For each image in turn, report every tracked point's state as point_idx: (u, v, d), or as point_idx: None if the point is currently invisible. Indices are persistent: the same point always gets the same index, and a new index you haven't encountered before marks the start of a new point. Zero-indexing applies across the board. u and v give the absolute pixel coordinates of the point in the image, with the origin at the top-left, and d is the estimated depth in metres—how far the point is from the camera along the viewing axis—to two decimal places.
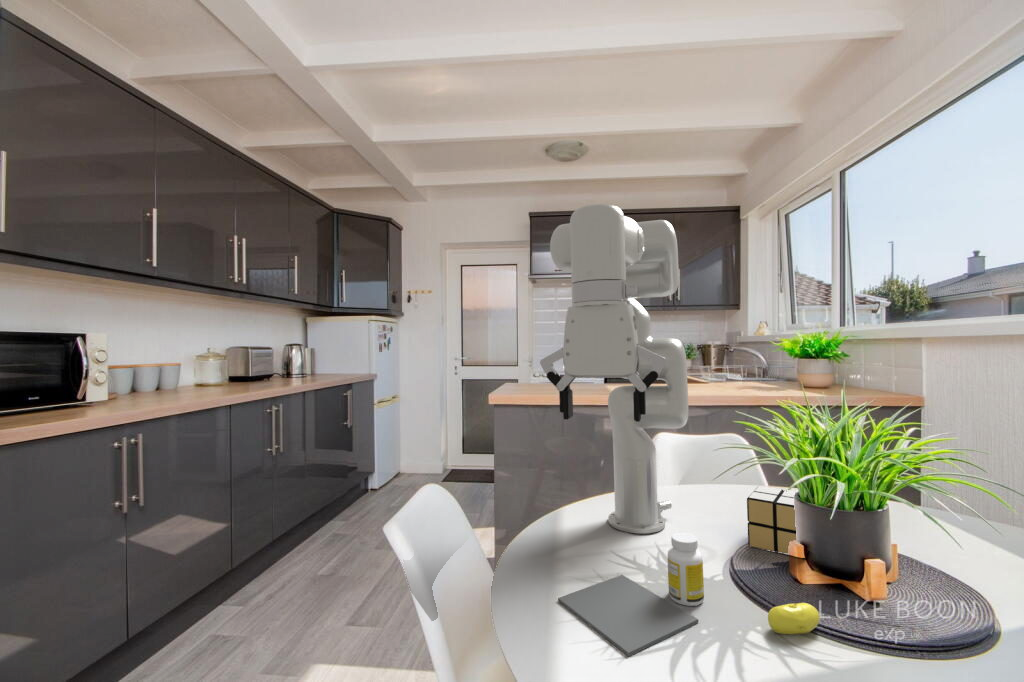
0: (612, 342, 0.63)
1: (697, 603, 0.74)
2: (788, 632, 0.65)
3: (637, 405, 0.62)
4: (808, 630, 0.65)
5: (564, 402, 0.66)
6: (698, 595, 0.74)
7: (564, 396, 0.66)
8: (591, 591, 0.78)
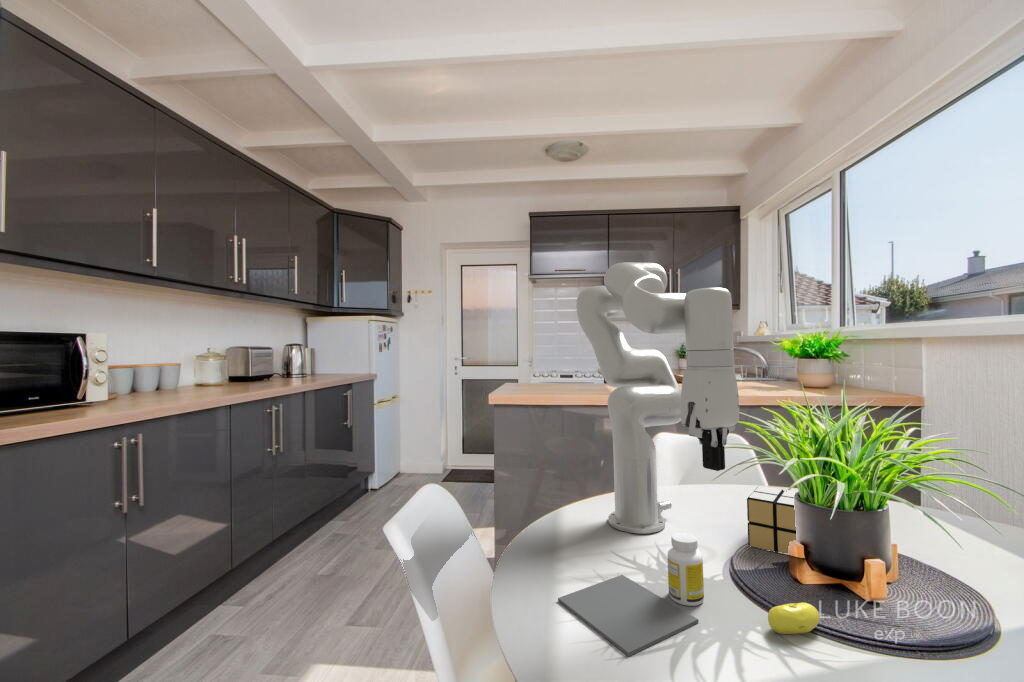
0: (731, 398, 0.79)
1: (697, 603, 0.74)
2: (788, 632, 0.65)
3: (724, 456, 0.79)
4: (808, 630, 0.65)
5: (719, 456, 0.78)
6: (698, 595, 0.74)
7: (719, 451, 0.78)
8: (591, 591, 0.78)
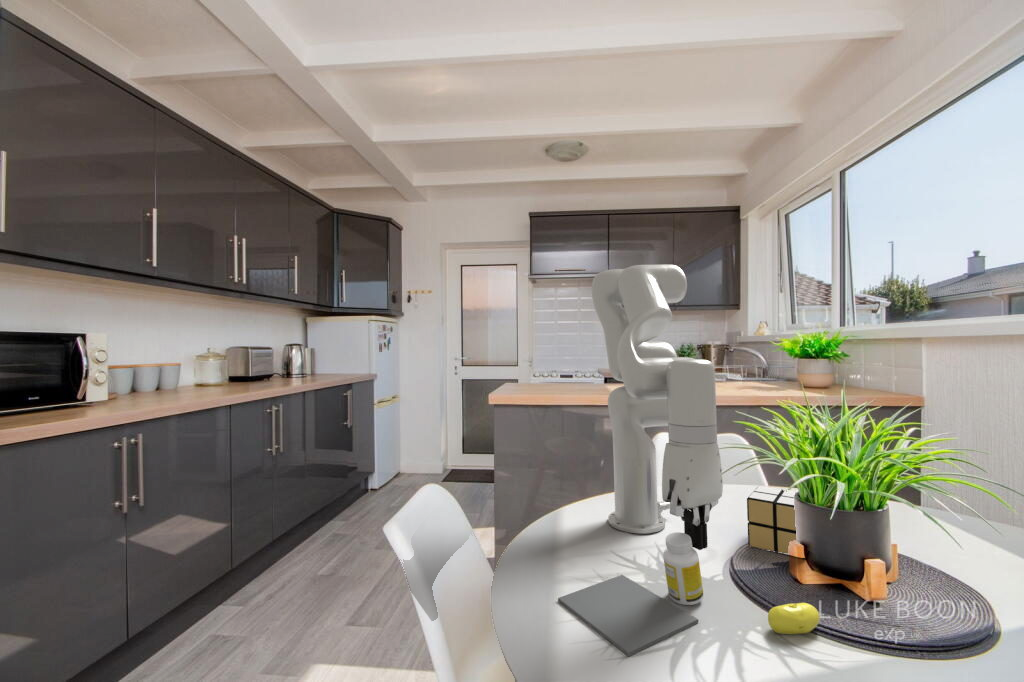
0: (714, 474, 0.76)
1: (697, 601, 0.74)
2: (788, 632, 0.65)
3: (706, 535, 0.76)
4: (808, 630, 0.65)
5: (701, 535, 0.75)
6: (697, 594, 0.73)
7: (701, 529, 0.75)
8: (591, 591, 0.78)
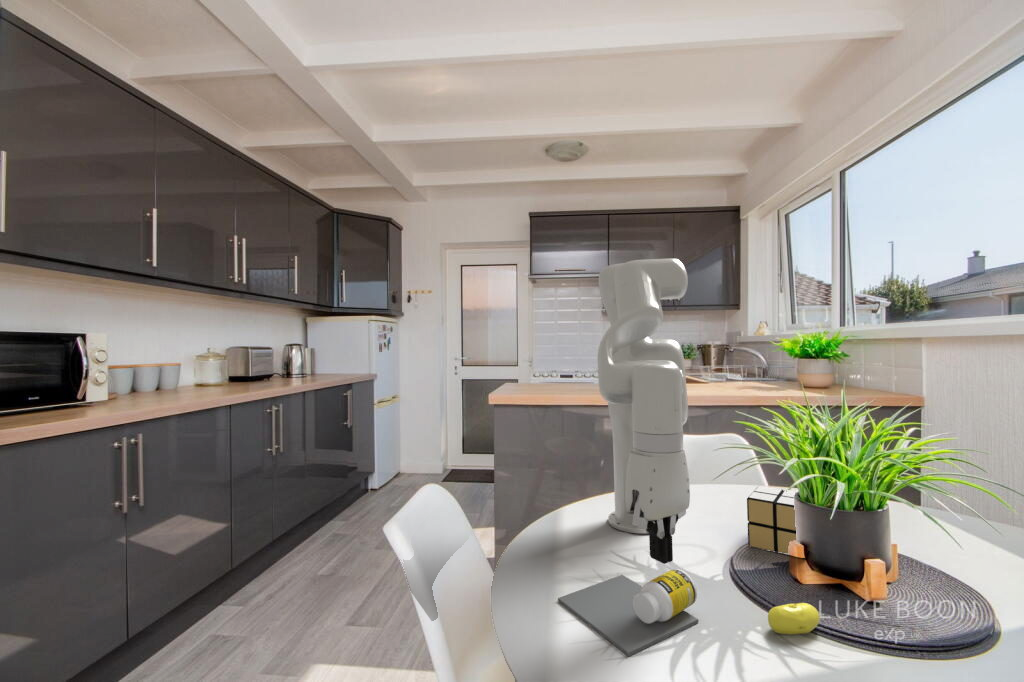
0: (680, 484, 0.72)
1: (692, 603, 0.72)
2: (788, 632, 0.65)
3: (671, 548, 0.72)
4: (808, 630, 0.65)
5: (666, 548, 0.72)
6: None
7: (666, 542, 0.72)
8: (591, 591, 0.78)
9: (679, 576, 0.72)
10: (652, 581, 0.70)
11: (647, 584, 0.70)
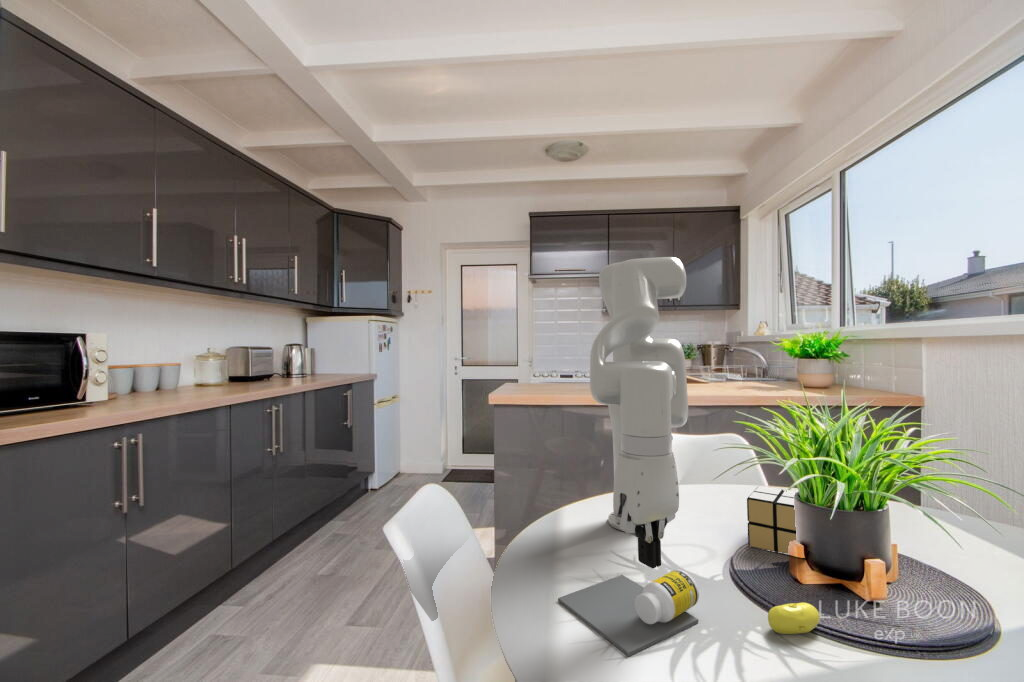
0: (668, 488, 0.71)
1: (693, 605, 0.72)
2: (788, 632, 0.65)
3: (659, 552, 0.71)
4: (808, 630, 0.65)
5: (654, 552, 0.71)
6: (689, 608, 0.71)
7: (654, 547, 0.71)
8: (591, 591, 0.78)
9: (683, 578, 0.71)
10: (655, 582, 0.70)
11: (650, 585, 0.70)
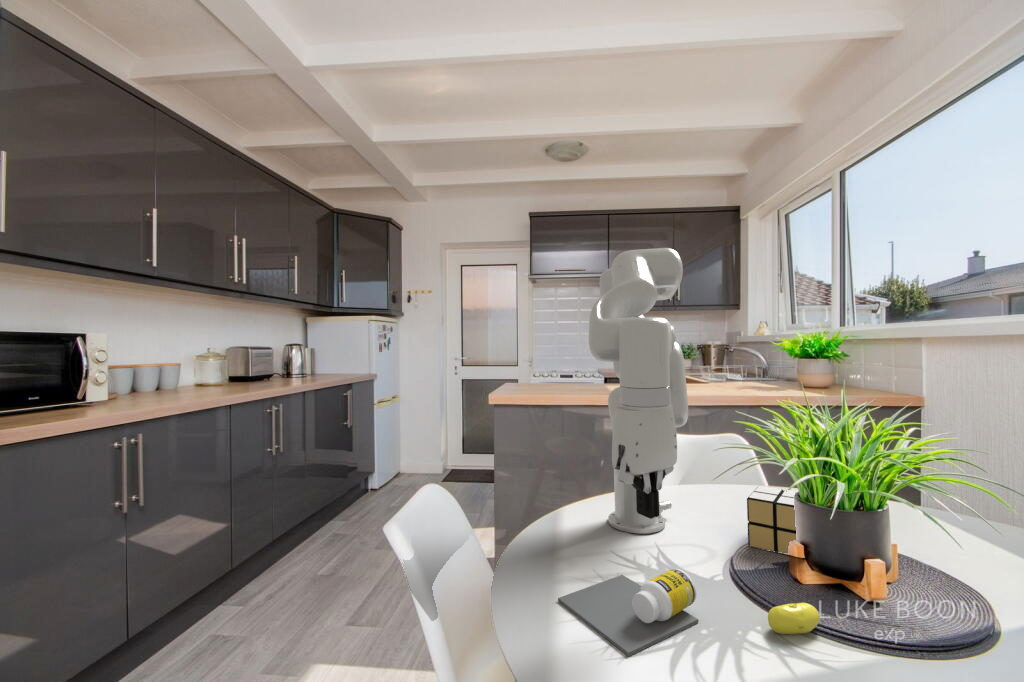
0: (667, 439, 0.72)
1: None
2: (788, 632, 0.65)
3: (658, 503, 0.72)
4: (808, 630, 0.65)
5: (652, 503, 0.71)
6: (689, 605, 0.71)
7: (652, 497, 0.71)
8: (591, 591, 0.78)
9: (678, 575, 0.72)
10: (650, 581, 0.71)
11: (646, 584, 0.70)
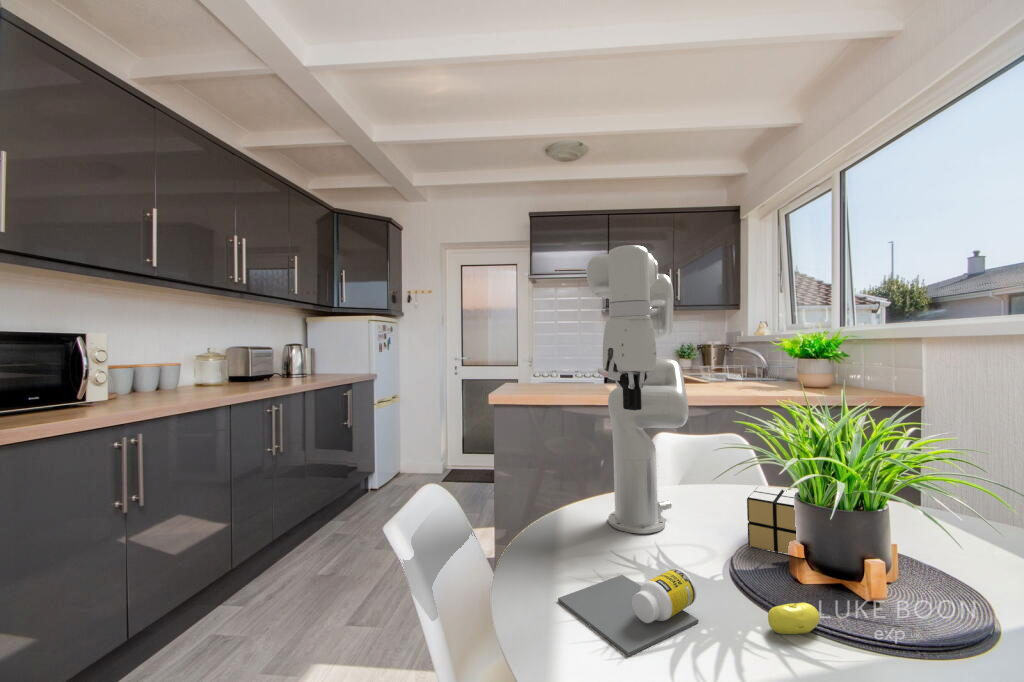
0: (647, 346, 0.88)
1: None
2: (788, 632, 0.65)
3: (640, 398, 0.88)
4: (808, 630, 0.65)
5: (635, 397, 0.87)
6: (688, 605, 0.71)
7: (635, 393, 0.87)
8: (591, 591, 0.78)
9: (678, 575, 0.72)
10: (650, 581, 0.71)
11: (646, 584, 0.70)
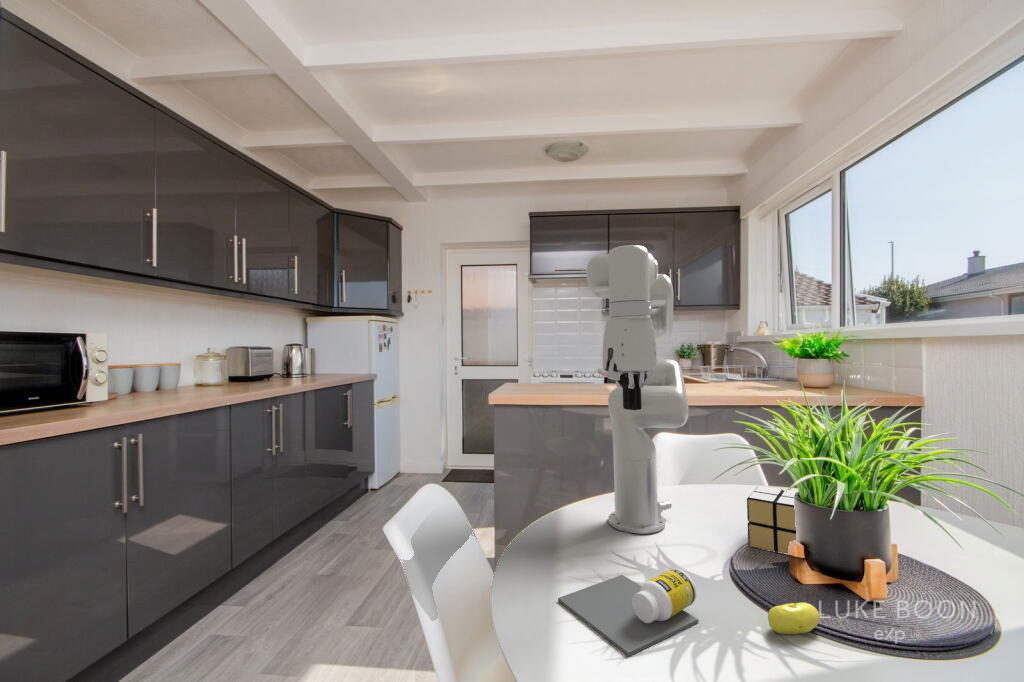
0: (647, 346, 0.88)
1: None
2: (788, 632, 0.65)
3: (640, 398, 0.88)
4: (808, 630, 0.65)
5: (635, 397, 0.87)
6: (688, 605, 0.71)
7: (635, 392, 0.87)
8: (591, 591, 0.78)
9: (678, 575, 0.72)
10: (650, 581, 0.71)
11: (646, 584, 0.70)
